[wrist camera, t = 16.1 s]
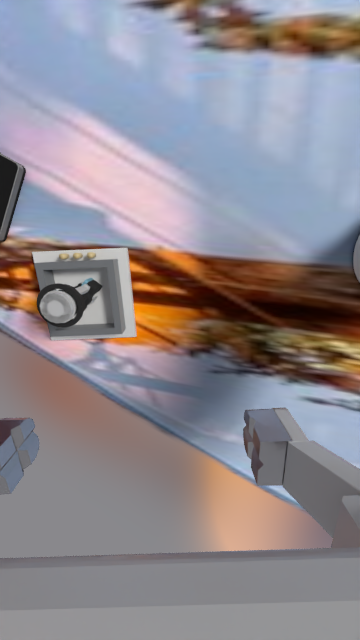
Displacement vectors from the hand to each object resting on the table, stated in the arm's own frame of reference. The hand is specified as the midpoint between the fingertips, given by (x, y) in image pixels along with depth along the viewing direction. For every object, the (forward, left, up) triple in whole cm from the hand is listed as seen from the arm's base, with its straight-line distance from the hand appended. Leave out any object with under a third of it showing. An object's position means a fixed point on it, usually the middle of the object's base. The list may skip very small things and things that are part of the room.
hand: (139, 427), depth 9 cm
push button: (+13, 0, -28) cm, 31 cm away
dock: (+13, 0, -29) cm, 32 cm away
